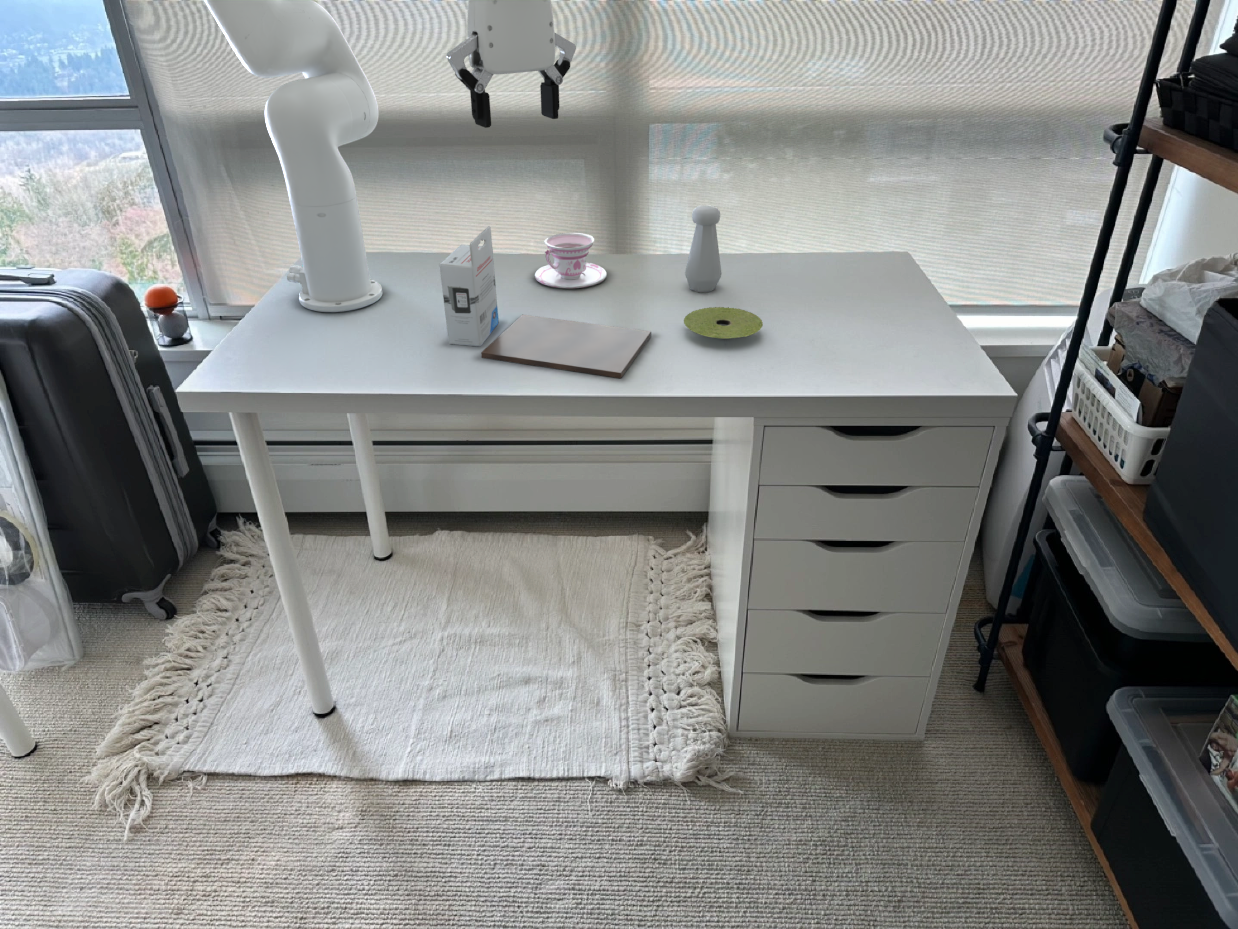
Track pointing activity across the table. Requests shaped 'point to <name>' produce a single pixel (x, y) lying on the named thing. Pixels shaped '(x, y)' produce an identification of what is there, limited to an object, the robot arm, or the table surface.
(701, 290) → the salt shaker
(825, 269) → the table surface
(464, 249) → the ink box
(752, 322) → the green grinding disc
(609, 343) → the walnut board
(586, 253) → the teacup
